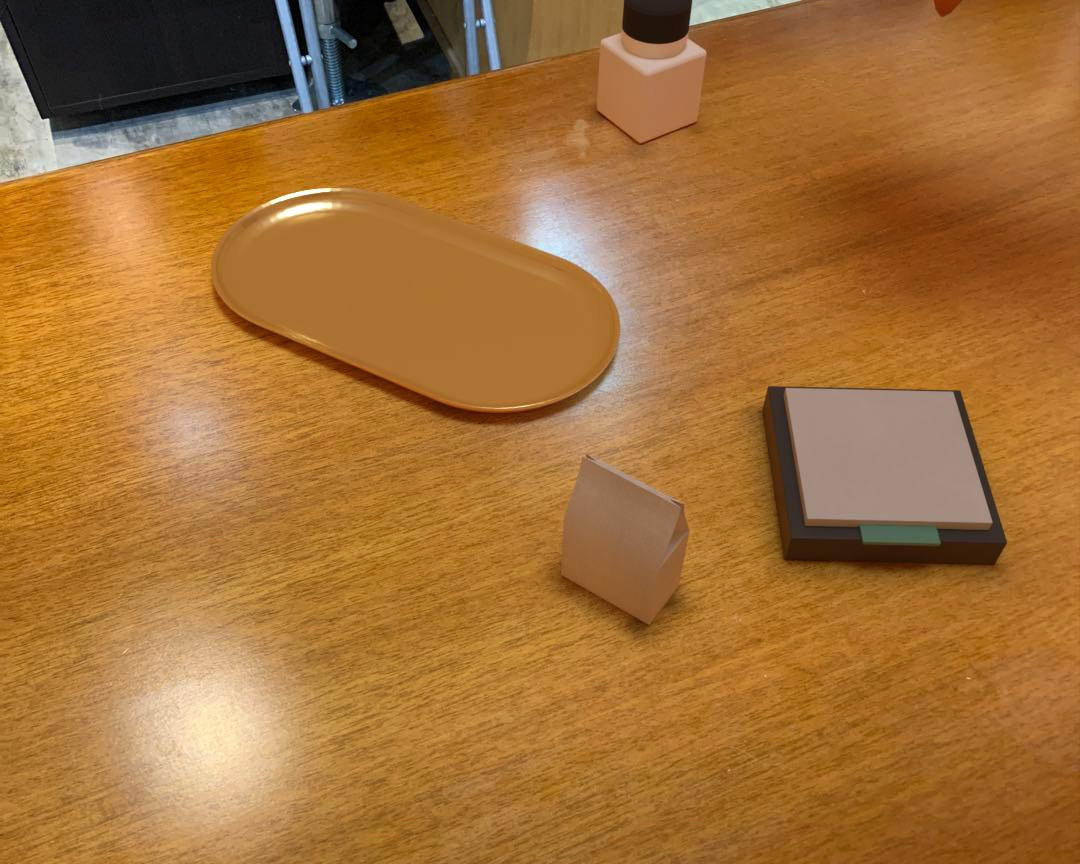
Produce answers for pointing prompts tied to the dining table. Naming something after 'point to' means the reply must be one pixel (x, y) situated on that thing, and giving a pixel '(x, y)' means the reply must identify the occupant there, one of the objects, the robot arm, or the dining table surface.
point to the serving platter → (418, 298)
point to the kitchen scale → (879, 476)
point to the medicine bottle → (651, 70)
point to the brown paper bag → (623, 540)
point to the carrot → (946, 6)
